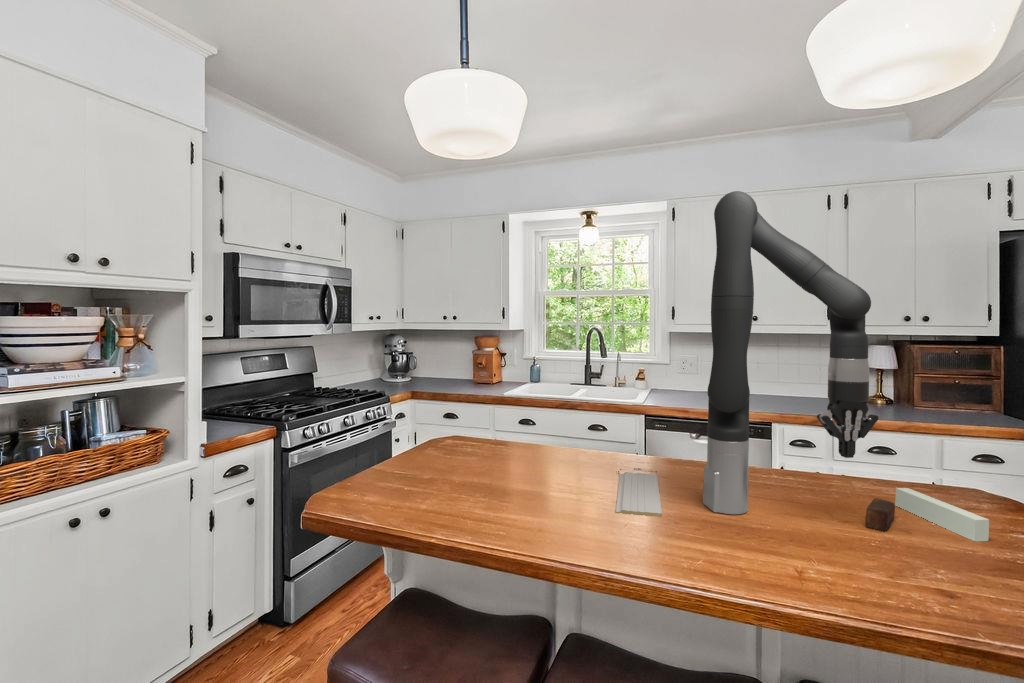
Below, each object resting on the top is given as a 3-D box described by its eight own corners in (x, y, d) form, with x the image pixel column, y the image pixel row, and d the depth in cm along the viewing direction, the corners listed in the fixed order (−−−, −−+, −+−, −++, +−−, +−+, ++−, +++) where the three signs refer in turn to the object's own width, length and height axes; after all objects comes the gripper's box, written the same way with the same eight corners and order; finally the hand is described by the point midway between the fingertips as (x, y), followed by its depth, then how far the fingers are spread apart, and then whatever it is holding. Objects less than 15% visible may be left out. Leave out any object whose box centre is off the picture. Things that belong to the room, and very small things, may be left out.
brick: (887, 533, 107) (888, 512, 107) (865, 528, 110) (865, 507, 110) (895, 520, 115) (895, 500, 115) (874, 515, 118) (874, 495, 117)
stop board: (974, 541, 103) (975, 519, 103) (895, 506, 123) (895, 488, 123) (988, 541, 103) (989, 519, 103) (906, 505, 123) (907, 487, 123)
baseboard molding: (609, 515, 119) (661, 520, 116) (609, 503, 119) (662, 507, 116) (615, 476, 149) (656, 479, 146) (615, 466, 149) (657, 469, 146)
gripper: (830, 380, 106) (829, 462, 106) (890, 380, 106) (889, 460, 107) (807, 377, 113) (807, 453, 114) (864, 376, 114) (862, 452, 114)
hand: (846, 456), depth 110 cm, fingers closed
